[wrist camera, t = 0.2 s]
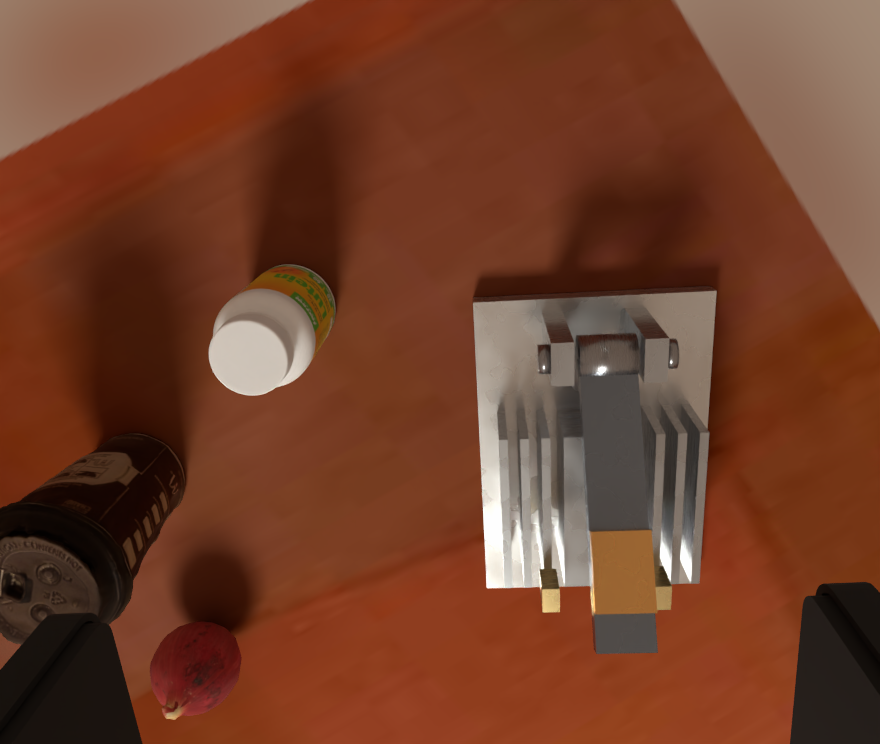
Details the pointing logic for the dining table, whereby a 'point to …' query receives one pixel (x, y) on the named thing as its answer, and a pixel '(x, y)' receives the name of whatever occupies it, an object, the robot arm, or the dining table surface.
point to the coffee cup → (85, 534)
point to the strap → (616, 494)
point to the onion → (195, 669)
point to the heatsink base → (559, 430)
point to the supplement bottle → (271, 330)
